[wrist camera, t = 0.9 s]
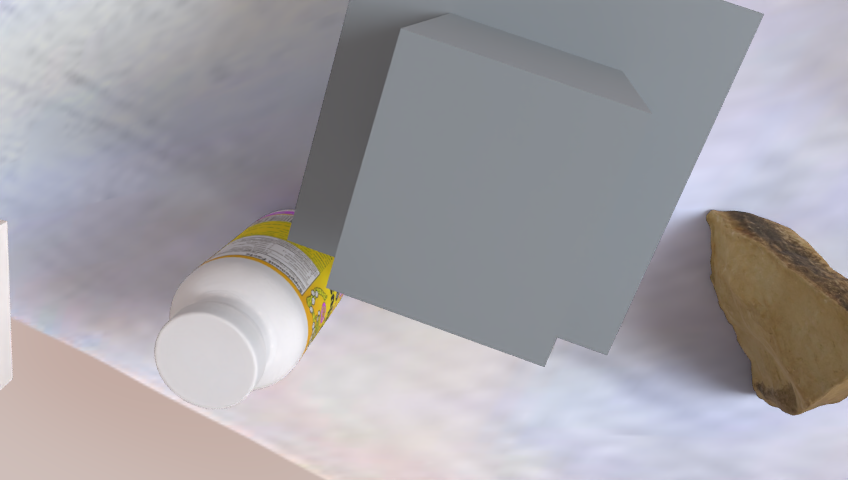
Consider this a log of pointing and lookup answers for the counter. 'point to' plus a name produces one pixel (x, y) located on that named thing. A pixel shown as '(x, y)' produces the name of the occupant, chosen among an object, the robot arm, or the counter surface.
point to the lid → (512, 157)
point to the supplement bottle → (245, 316)
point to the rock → (782, 310)
